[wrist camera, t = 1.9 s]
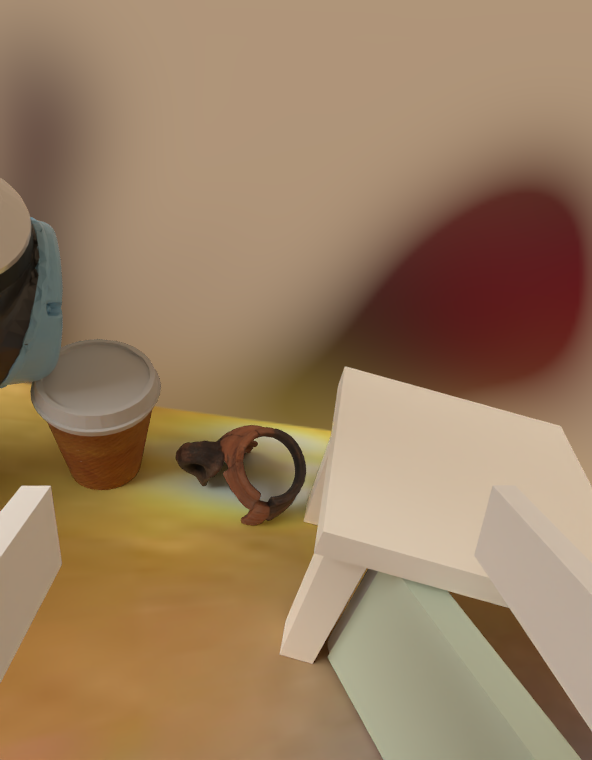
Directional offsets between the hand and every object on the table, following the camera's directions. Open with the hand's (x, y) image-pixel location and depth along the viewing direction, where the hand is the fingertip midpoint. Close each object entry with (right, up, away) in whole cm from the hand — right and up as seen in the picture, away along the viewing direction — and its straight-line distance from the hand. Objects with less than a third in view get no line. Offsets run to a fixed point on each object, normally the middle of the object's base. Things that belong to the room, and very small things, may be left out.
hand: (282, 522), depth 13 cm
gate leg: (+6, -19, +16) cm, 26 cm away
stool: (+8, -14, +25) cm, 30 cm away
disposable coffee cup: (-18, -4, +30) cm, 35 cm away
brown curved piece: (-6, -6, +31) cm, 32 cm away
